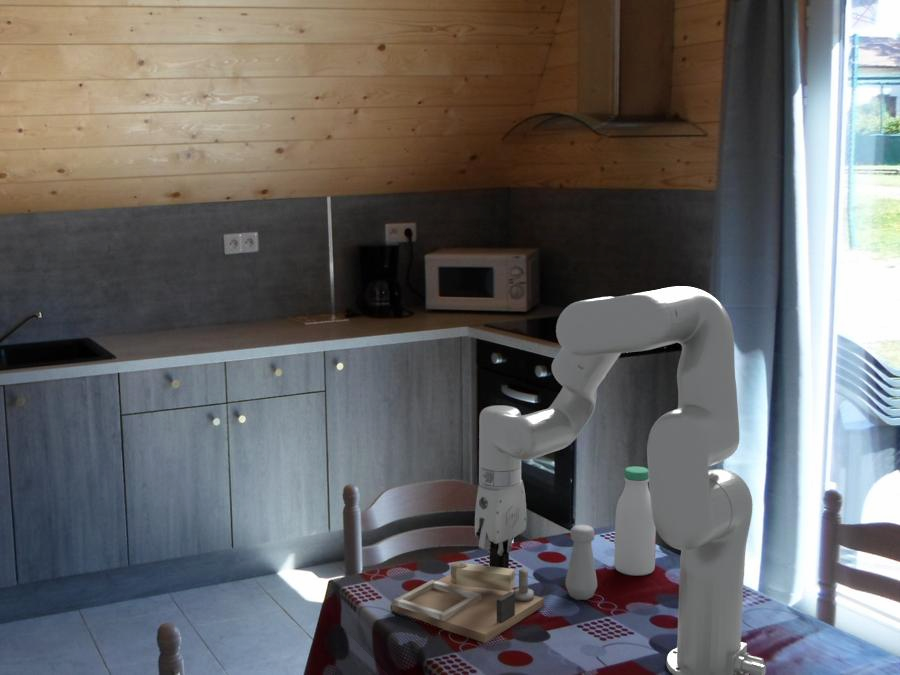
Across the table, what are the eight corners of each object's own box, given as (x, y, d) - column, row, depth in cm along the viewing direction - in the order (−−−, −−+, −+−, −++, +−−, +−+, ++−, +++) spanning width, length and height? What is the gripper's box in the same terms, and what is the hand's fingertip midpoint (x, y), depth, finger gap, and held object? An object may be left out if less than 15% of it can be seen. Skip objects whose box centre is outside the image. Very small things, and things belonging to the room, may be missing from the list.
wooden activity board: (543, 606, 188) (544, 571, 187) (485, 642, 174) (485, 605, 173) (453, 579, 200) (453, 547, 199) (391, 612, 186) (391, 577, 185)
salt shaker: (562, 599, 191) (563, 530, 189) (568, 587, 196) (569, 520, 194) (594, 603, 189) (596, 533, 187) (599, 591, 195) (601, 523, 192)
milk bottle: (654, 578, 200) (657, 476, 197) (613, 575, 202) (615, 473, 199) (655, 563, 208) (657, 464, 205) (615, 560, 209) (617, 462, 206)
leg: (514, 585, 190) (514, 569, 189) (510, 591, 187) (510, 575, 187) (453, 577, 194) (453, 561, 193) (448, 583, 191) (448, 567, 190)
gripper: (491, 489, 181) (490, 591, 184) (541, 469, 193) (539, 565, 196) (457, 481, 186) (457, 580, 189) (507, 462, 197) (506, 556, 200)
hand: (499, 572), depth 192 cm, fingers closed
